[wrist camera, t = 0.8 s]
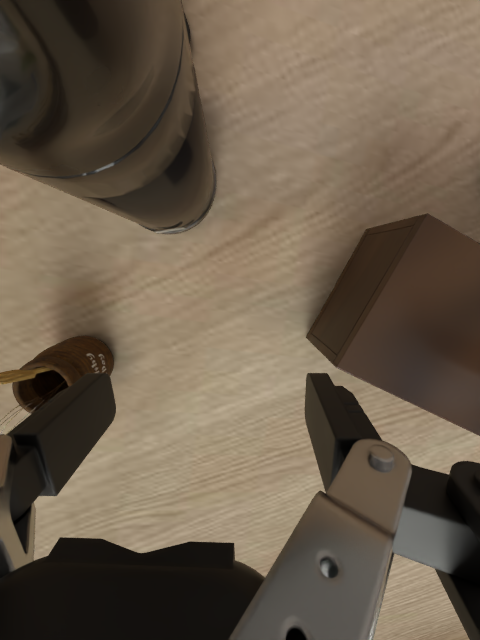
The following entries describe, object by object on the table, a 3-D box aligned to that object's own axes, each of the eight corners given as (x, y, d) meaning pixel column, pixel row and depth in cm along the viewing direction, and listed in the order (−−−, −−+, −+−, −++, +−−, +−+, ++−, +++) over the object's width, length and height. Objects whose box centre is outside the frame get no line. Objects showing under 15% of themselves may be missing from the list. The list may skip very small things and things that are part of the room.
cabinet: (480, 292, 28) (584, 304, 20) (415, 390, 31) (484, 438, 22) (366, 228, 27) (427, 212, 18) (305, 337, 29) (335, 367, 21)
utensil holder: (57, 381, 29) (-60, 460, 17) (62, 326, 28) (-61, 371, 16) (112, 390, 30) (34, 474, 18) (119, 337, 28) (39, 388, 17)
